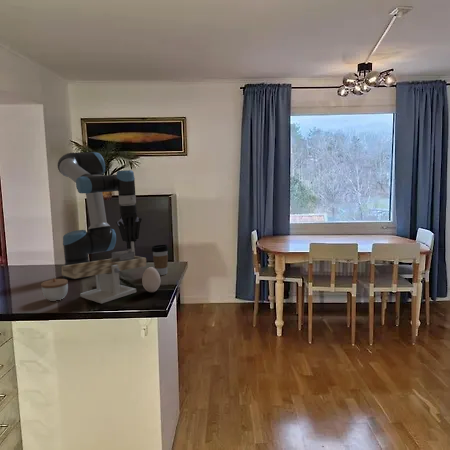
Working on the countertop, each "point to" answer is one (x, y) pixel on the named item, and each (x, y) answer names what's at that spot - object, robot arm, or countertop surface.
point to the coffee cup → (160, 258)
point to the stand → (108, 287)
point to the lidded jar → (55, 289)
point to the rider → (122, 256)
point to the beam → (100, 267)
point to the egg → (151, 279)
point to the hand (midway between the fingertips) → (131, 255)
